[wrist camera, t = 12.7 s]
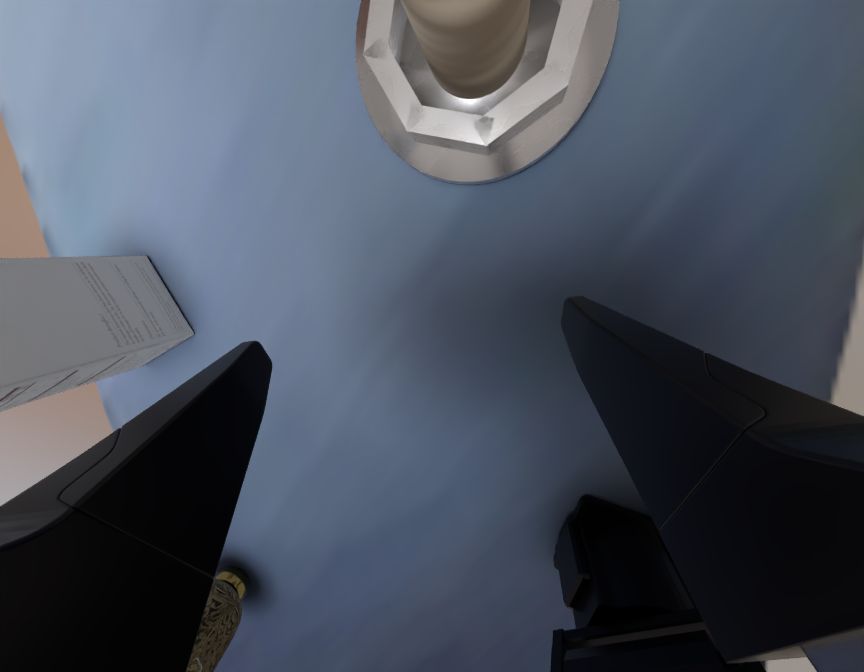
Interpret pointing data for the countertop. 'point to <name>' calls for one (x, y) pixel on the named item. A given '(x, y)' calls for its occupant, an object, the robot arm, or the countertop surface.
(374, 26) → the socket ring
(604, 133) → the countertop surface
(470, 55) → the knob post
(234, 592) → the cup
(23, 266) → the supplement box
